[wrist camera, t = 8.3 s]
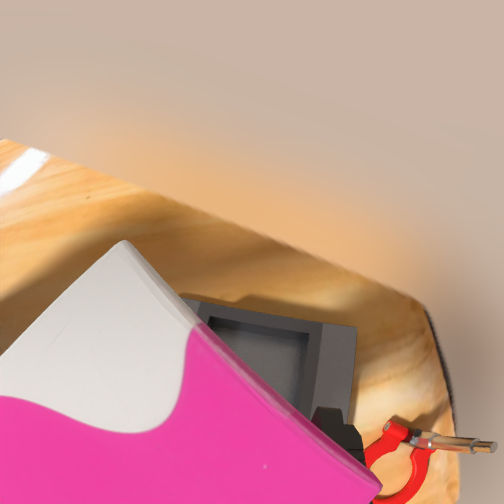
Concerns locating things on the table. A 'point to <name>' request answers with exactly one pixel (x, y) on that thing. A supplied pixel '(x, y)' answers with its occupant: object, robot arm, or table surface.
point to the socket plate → (289, 354)
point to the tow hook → (419, 453)
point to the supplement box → (152, 408)
